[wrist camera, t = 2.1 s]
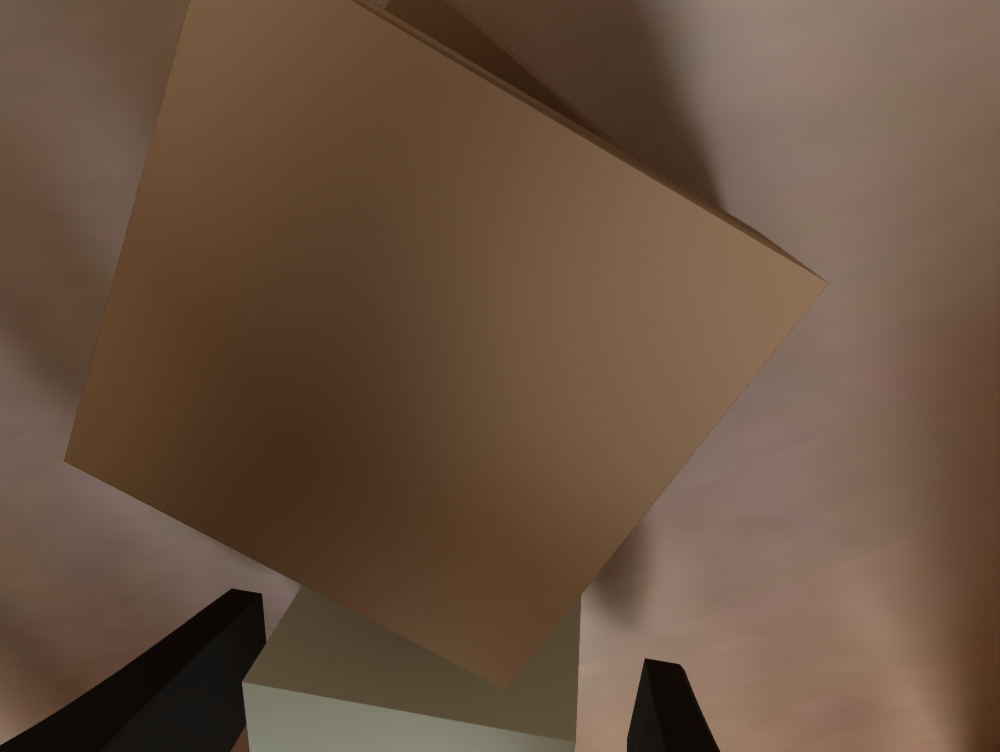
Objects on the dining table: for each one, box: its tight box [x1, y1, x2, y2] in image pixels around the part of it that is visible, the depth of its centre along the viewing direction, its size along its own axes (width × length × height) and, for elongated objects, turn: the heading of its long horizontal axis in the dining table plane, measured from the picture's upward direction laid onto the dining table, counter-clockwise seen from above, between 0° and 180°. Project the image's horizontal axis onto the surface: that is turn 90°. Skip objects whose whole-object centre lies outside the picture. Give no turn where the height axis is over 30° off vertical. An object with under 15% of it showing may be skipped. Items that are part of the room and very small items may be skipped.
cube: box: [242, 585, 581, 752], centre depth 11 cm, size 4×4×4 cm
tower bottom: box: [385, 0, 628, 154], centre depth 10 cm, size 6×6×3 cm
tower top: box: [64, 0, 829, 690], centre depth 7 cm, size 6×6×3 cm
